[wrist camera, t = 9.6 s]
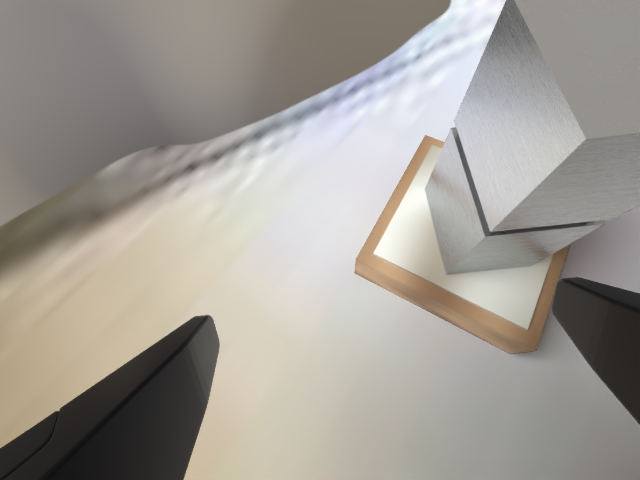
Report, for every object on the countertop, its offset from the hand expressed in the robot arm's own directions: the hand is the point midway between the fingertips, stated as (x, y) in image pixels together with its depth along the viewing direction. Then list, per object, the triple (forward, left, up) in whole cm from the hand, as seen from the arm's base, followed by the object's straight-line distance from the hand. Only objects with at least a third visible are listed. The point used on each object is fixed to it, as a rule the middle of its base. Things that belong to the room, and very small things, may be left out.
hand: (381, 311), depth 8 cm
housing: (-3, -10, -10) cm, 15 cm away
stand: (-3, -10, -14) cm, 17 cm away
